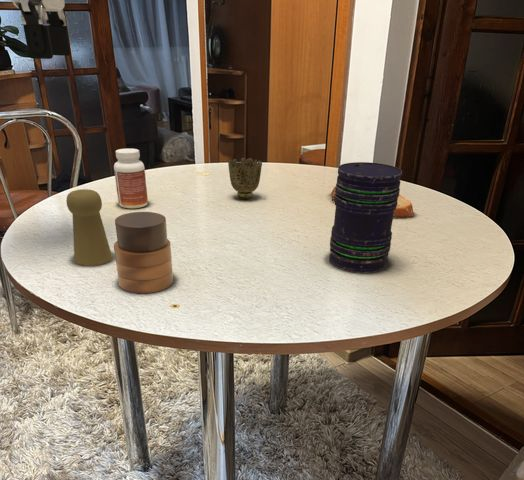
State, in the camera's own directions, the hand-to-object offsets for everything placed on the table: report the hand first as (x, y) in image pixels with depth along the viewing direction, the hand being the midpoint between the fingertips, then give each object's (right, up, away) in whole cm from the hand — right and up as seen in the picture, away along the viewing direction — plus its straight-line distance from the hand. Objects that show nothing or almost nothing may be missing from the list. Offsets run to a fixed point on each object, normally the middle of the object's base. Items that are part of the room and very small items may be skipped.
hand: (51, 56), depth 77 cm
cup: (+28, -10, +39) cm, 49 cm away
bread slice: (+56, -12, +37) cm, 68 cm away
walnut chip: (+15, -29, -3) cm, 33 cm away
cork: (+4, -29, +7) cm, 30 cm away
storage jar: (+48, -30, +9) cm, 57 cm away
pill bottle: (+4, -13, +32) cm, 35 cm away
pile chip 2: (+14, -32, -1) cm, 35 cm away
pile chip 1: (+14, -31, -2) cm, 34 cm away
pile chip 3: (+14, -34, 0) cm, 37 cm away
